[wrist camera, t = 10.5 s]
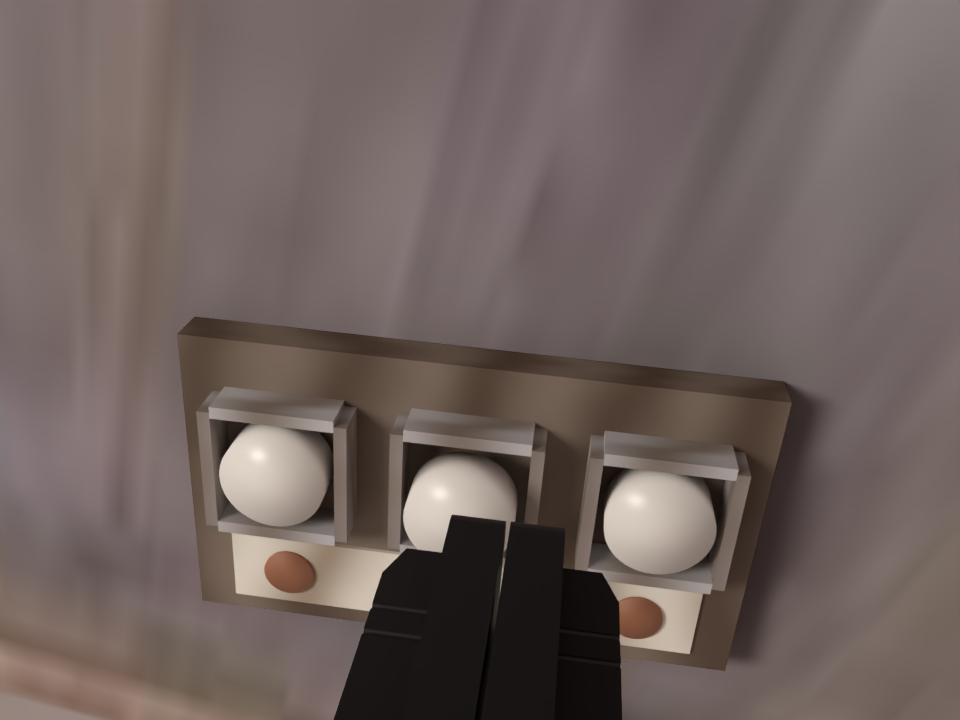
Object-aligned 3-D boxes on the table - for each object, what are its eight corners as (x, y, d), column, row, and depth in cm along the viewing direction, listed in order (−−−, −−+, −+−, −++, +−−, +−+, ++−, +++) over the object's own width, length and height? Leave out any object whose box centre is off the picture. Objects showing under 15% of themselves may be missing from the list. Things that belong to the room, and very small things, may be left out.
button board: (783, 381, 42) (800, 425, 38) (720, 643, 49) (729, 700, 46) (194, 316, 44) (158, 352, 41) (216, 576, 51) (187, 626, 48)
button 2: (720, 466, 42) (725, 491, 40) (701, 553, 44) (705, 580, 42) (610, 453, 42) (611, 477, 40) (597, 540, 44) (597, 567, 43)
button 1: (334, 421, 43) (322, 443, 41) (335, 507, 45) (324, 532, 44) (231, 409, 43) (215, 430, 42) (237, 495, 46) (222, 519, 44)
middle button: (522, 458, 41) (518, 483, 39) (513, 546, 44) (509, 574, 42) (413, 445, 42) (404, 469, 40) (410, 533, 44) (401, 560, 42)
